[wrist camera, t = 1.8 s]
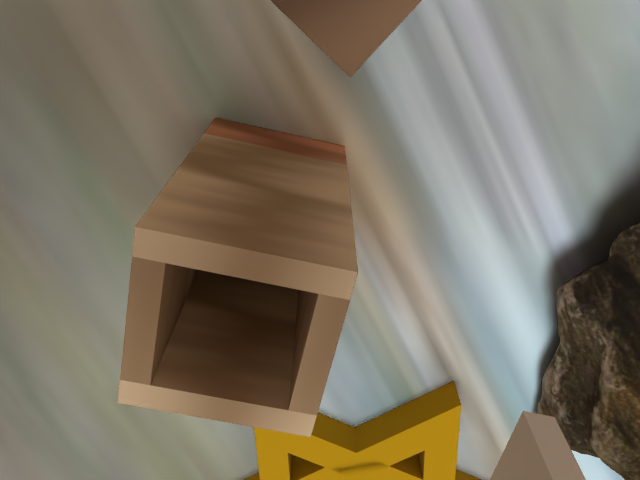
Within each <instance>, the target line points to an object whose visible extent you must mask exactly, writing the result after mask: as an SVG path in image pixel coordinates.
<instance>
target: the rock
mask: <svg viewBox="0 0 640 480" xmlns="http://www.w3.org/2000/svg"><path fill="white" fill-rule="evenodd" d="M556 299H557V314H558V334H559V336H560V344H559V346H558V348H557V350H556V352H555V354H554V357H553V359H552V360H551V362H550V364H549V365H548V367H547V369H546V371H545V374H544V376H543V379H542V397H541V400H540V401H539V403H538V413H537V414H541V415H546V416H551V417H555V419H556V421H557V423H558V425H559V427H560V429H561V431H562V433H563V435H564V437H565V439H566V441H567V443H568V445H569V447H570V449H571V450H573V451H576V452H579V453H582V454H588V455H591V456H594V457H598V458H600V459H601V460H602V462H604V463H605V464H606V465H607V466H608V467H610V468H611V469H612V470H614V471H616V472H617V473H618V474H620V475H621V476H622V477H623V478H624V479H625V480H640V222H639V223H637V224H635V225H633V226H631V227H629V228H627V229H625V230H623V231H622V232H621V233H620V234H619V235H618V236H617V238H616V239H615V240H614V242H613V243H612V245H611V247H610V256H609V259H608V260H607V261H605V262H602V263H600V264H597V265H595V266H593V267H592V268H590V269H588V270H586V271H584V272H582V273H580V274H578V275H577V276H575V277H574V278H573V279H571V280H570V281H568V282H566V283H564V284H562V285H561V286H560V287H559V288H558V290H557V293H556Z"/></svg>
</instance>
